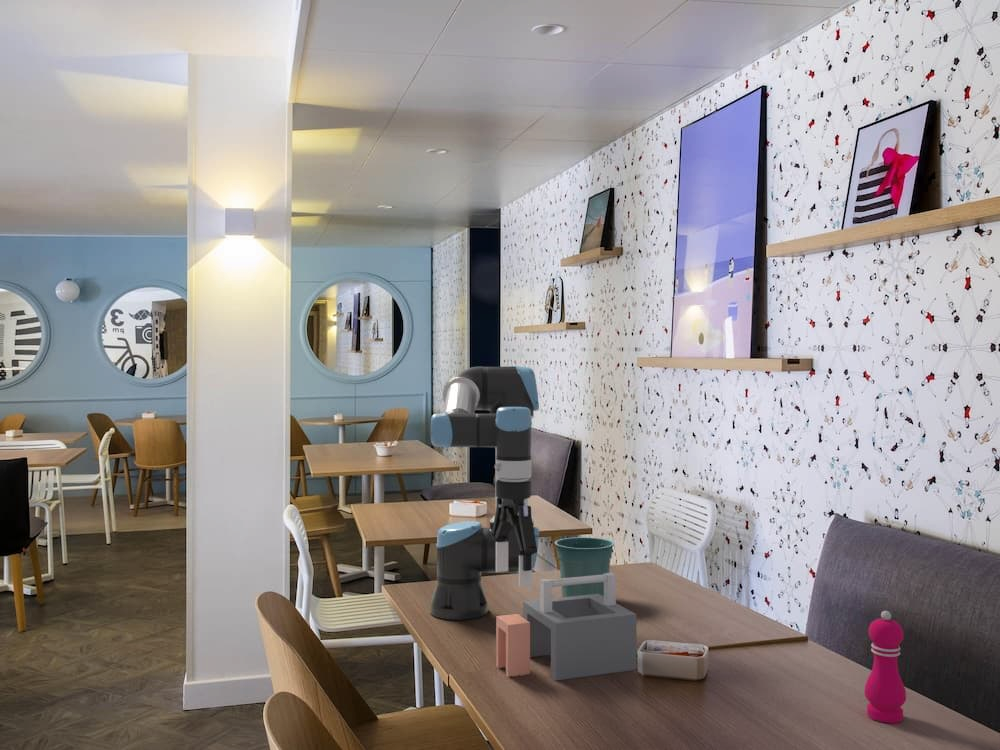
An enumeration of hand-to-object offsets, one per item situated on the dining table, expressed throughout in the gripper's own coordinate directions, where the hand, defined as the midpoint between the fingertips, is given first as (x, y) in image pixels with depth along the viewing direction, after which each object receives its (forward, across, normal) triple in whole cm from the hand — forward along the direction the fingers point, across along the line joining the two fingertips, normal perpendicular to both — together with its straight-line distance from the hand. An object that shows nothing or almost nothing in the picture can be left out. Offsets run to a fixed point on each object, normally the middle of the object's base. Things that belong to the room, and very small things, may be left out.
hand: (513, 578), depth 196 cm
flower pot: (+20, -45, +39) cm, 63 cm away
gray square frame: (+20, 0, +16) cm, 25 cm away
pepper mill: (+20, +48, +56) cm, 76 cm away
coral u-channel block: (+20, 0, 0) cm, 20 cm away
